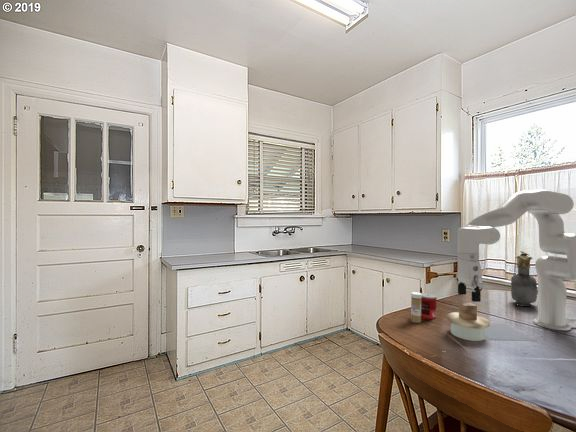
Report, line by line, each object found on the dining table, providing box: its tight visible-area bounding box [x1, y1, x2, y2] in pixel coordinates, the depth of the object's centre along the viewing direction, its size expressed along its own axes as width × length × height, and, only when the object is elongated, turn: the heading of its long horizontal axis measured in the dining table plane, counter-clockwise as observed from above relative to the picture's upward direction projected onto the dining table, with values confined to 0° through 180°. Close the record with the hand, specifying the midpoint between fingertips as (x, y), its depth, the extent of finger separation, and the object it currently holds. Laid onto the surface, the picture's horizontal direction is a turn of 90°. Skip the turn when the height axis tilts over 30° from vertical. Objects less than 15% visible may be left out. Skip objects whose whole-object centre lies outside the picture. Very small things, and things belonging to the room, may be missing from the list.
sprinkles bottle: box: [410, 291, 422, 324], centre depth 134 cm, size 5×5×14 cm
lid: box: [446, 302, 491, 329], centre depth 119 cm, size 15×15×7 cm
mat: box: [485, 322, 537, 342], centre depth 122 cm, size 18×18×1 cm
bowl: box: [450, 322, 486, 342], centre depth 119 cm, size 12×12×6 cm
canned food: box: [420, 292, 438, 321], centre depth 140 cm, size 8×8×11 cm
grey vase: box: [510, 250, 538, 307], centre depth 161 cm, size 11×19×30 cm, turn 145°
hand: (468, 297), depth 119 cm, fingers open, 9 cm apart
